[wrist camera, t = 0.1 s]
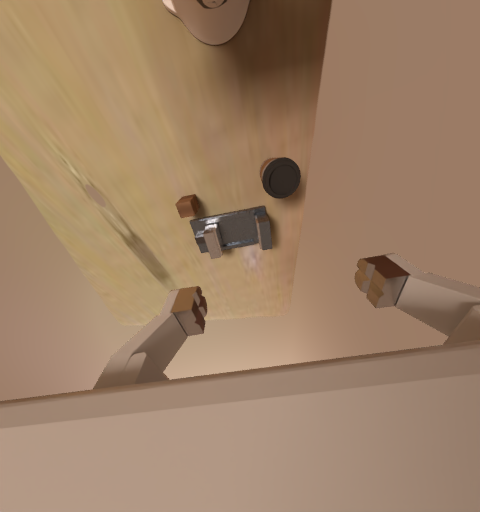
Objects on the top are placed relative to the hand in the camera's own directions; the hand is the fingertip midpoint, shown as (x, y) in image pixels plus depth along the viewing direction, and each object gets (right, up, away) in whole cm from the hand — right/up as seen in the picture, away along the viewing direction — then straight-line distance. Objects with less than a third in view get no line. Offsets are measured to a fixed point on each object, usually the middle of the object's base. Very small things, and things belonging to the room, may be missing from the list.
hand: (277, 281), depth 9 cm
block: (-17, +18, +45) cm, 51 cm away
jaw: (-12, +8, +49) cm, 51 cm away
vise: (-5, +10, +50) cm, 52 cm away
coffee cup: (+7, +26, +41) cm, 49 cm away
